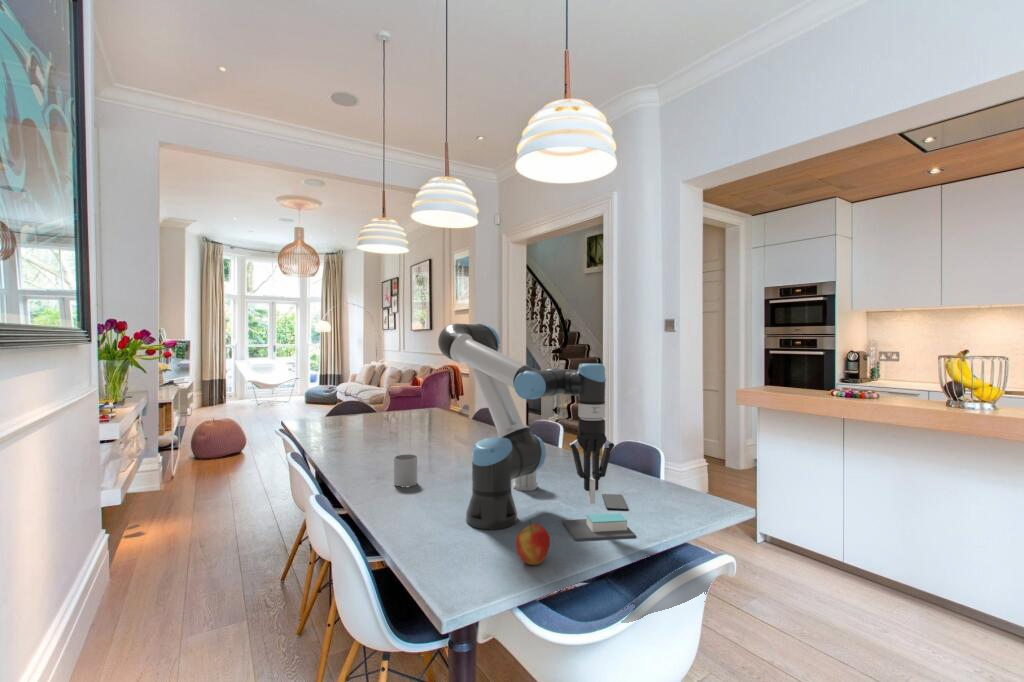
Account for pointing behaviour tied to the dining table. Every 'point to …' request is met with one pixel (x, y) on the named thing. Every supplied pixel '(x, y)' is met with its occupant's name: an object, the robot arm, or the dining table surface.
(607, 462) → the robot arm
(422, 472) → the dining table surface
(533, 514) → the dining table surface
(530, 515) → the dining table surface
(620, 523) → the teal white block
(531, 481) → the cup
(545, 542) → the apple
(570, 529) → the mat
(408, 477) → the cup
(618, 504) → the smartphone
